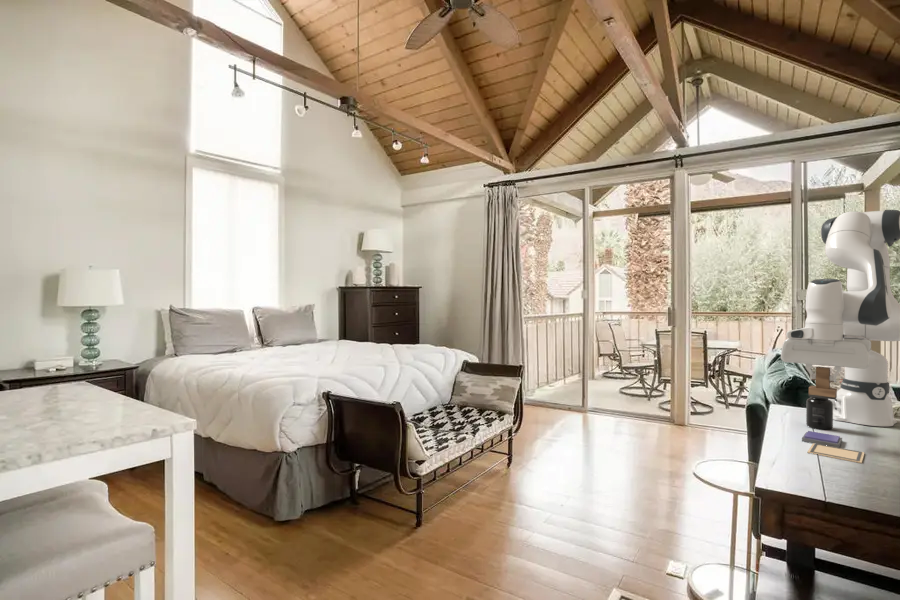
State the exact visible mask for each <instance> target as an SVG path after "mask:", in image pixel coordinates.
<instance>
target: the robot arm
mask: <svg viewBox="0 0 900 600" xmlns="http://www.w3.org/2000/svg"><path fill="white" fill-rule="evenodd" d="M820 238H821V239H822V240H821V241H823V242H822V243H824V244H825V246H824V248H825V249H824V252H825V257H826V258H827V259H828V260H829V261H830V262H831V263H832V264H834V265H836V266H838V267H840V268H845V269H847V270H846V272H847V273H846V290H843V284H842V281H841V280H840V279H836V278H819V279H813V280H811V281H809V282H808V284H807V289H806V293H805V294H806V295H805V307H804V308H805V311H806V318H805V321H804V327H798V328H797V329H796V328H795V329H792V330H788V331H786V333H785V335H786V339H785V340H783V342H782V346H781V351H780V352H781V353H780V360H781V361H782V362H784V363H793V364H801V365H803V364H804V365H805V367H804V368H805V369H806V371H807V372H808V374H809V379H810V381H811V380H812V381H816V373H814V372H813V370H812V369H811V368H813V365H816V366H824V367H825V366H826V367H834V371H835V372H834V373H833V375H831V374H830V376H829V378H830V379H829V382H830V383H836V382H837V376H839V374H840V373H841V371H842V368H844V377H843V378H841V379H839V381H840V386H839V387H840V388H839V389H837V398H836V399H835V400H834V399H829V400H831V401H832V403H833V421H837V422H847V423H851V424H852V423H853V424H856V425H857V424H858V425H863V426H864V425H865V426H873V427H893V426H894V425H895V424H897V419H895V418H894V408H893V401H892V398H891V397H890V395H889V393H890V389H891V386H890V382H889V381H888V378H889V377H888V376H889V375H888V374H889V363H888V359H887V358H886V356H884V355H883V354H881V353H879V352H877V351H875V350H873V349H872V341H875V342H876V341H880V342H900V303H899V301H897V299H896V298H895V296H894V295H893V292H892V288H891V278H890V277H891V275H890V273H891V269H890V268H891V266H890V265H891V264H890V263H891V262H890V261H891V260H890V255H889V249H888V247H889V248H890V247H892V246H893V245H894V243H896V242H898V241H899V240H900V210H899V209H884V210H874V211H864V212H862V211H856V210H852V211H851V210H850V211H846V212H843V213H841V214H840V215H838V216H835V217H832V218H828V219H826V220H825V221H824V222H823V223H822V225H821V230H820Z"/></svg>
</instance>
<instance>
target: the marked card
mask: <svg viewBox="0 0 900 600" xmlns="http://www.w3.org/2000/svg"><path fill="white" fill-rule="evenodd" d="M810 453H813V454H812V455H815V454H818V455H817V456H821V455H822V457H826V456H827V457H826V458H831V459H837V460H842V461H847V462H852V463H858V464H863V460H864V456H865V452H864V451H859V450H853V449H848V448H841V447H839V448H838V447H832V446H826V445H821V444H815V443H811V445H810V447H809V449H808V450H807V454H810Z"/></svg>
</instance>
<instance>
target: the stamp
mask: <svg viewBox="0 0 900 600" xmlns="http://www.w3.org/2000/svg"><path fill="white" fill-rule="evenodd" d="M815 374H816V380H815V385H809V387H808V397H809V398H810V397H818V398H826V399H834V400H835V399H836V398H837V391H838V388H835V387H831V382H829V379H830V378H829V376H830V375H831V367H829V366H826V367H825V366H816V367H815Z"/></svg>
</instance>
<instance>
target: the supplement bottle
mask: <svg viewBox="0 0 900 600" xmlns="http://www.w3.org/2000/svg"><path fill="white" fill-rule="evenodd" d="M805 410H806V412H805V413H806V414H805V418H806V421H805V424H806V426H807V427H808V426H809V427H808V428H811V429H815V428H816V429H815V430H821V431H831V430H833V427H834V419H833V403H832V401H831V400H829V399H826V398H818V397H810V396H809V398H807V399H806V408H805Z"/></svg>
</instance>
